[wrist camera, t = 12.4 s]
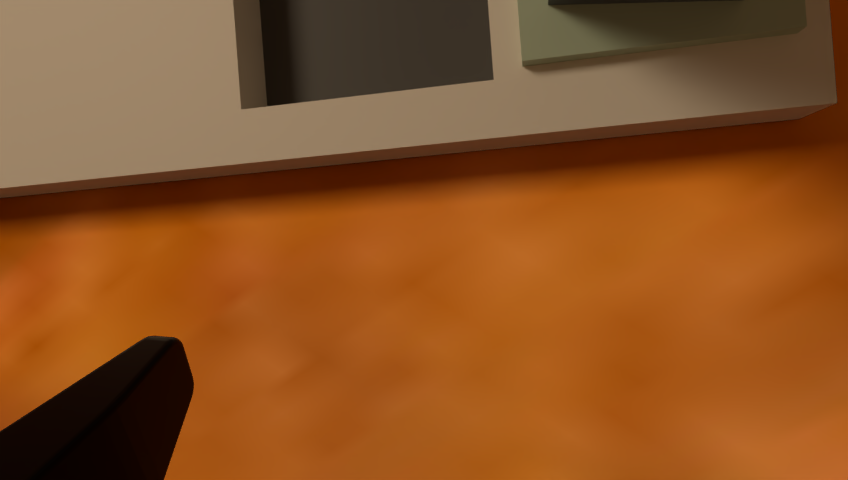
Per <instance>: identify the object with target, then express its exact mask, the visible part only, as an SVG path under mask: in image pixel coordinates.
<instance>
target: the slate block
mask: <svg viewBox="0 0 848 480" xmlns="http://www.w3.org/2000/svg"><path fill="white" fill-rule="evenodd" d="M696 1H737V0H548V5H574V4H615V3H655V2H696Z"/></svg>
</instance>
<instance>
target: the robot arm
mask: <svg viewBox="0 0 848 480" xmlns="http://www.w3.org/2000/svg"><path fill="white" fill-rule="evenodd" d="M193 388H194V382H193V376H192V373H191V370H190V367H189V363H188V360H187V357H186V353H185V350H184V347H183V344H182V342H181V341H180V340H179V339H177V338H175V337H163V336H148V337H146V338H144V339H142V340H140V341H139V342H137V343H136V344H134V345H133V346H131V347H130V348H128V349H127V350H125V351H123V352H122V353H120V354H119V355H117V356H116V357H114V358H113V359H111V360H110V361H108V362H107V363H105V364H103V365H102V366H100V367H99V368H97V369H96V370H94V371H93V372H91V373H90V374H88V375H86V376H85V377H83V378H82V379H80V380H79V381H77V382H76V383H74V384H73V385H71V386H70V387H68V388H66V389H65V390H63V391H62V392H60V393H59V394H57V395H56V396H54V397H53V398H51V399H49V400H48V401H46V402H45V403H43V404H42V405H40V406H39V407H37V408H36V409H34V410H33V411H31V412H29V413H28V414H26V415H25V416H23V417H22V418H20V419H19V420H17V421H16V422H14V423H12V424H11V425H9V426H8V427H6V428H5V429H3V430H2V431H0V480H164V478H165V475H166V472H167V469H168V466H169V463H170V460H171V457H172V454H173V451H174V448H175V445H176V442H177V439H178V436H179V434H180V431H181V428H182V425H183V422H184V419H185V416H186V413H187V410H188V407H189V404H190V401H191V398H192V395H193Z"/></svg>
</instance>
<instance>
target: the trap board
mask: <svg viewBox="0 0 848 480" xmlns="http://www.w3.org/2000/svg"><path fill="white" fill-rule="evenodd" d="M836 103H837V93H836V80H835V67H834V54H833V41H832V29H831V16H830V3H829V0H737V1H696V2H655V3H615V4H574V5H548V0H0V198H6V197H16V196H26V195H36V194H46V193H57V192H67V191H77V190H87V189H97V188H107V187H117V186H127V185H137V184H148V183H158V182H168V181H178V180H188V179H198V178H208V177H218V176H228V175H239V174H249V173H259V172H269V171H279V170H289V169H299V168H309V167H319V166H330V165H340V164H350V163H360V162H370V161H380V160H390V159H400V158H410V157H420V156H431V155H441V154H451V153H461V152H471V151H481V150H491V149H501V148H511V147H522V146H532V145H542V144H552V143H562V142H572V141H582V140H592V139H602V138H613V137H623V136H633V135H643V134H653V133H663V132H673V131H683V130H693V129H703V128H714V127H724V126H734V125H744V124H754V123H764V122H774V121H784V120H794V119H800V118H803V117H805V116H807V115H810V114H812V113H814V112H817V111H819V110H822V109H824V108H826V107H829V106H831V105H834V104H836Z"/></svg>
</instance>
